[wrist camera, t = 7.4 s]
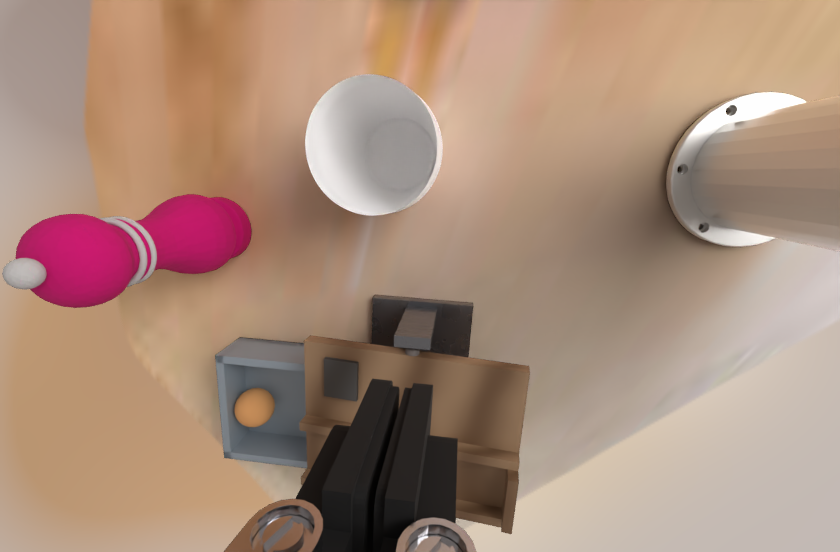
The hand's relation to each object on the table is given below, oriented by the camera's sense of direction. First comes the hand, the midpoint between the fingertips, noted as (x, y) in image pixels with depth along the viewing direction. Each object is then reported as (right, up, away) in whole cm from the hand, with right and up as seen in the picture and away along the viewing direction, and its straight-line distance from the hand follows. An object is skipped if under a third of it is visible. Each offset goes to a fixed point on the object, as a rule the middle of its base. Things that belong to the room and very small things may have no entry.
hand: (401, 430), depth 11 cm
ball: (-17, -10, +32) cm, 38 cm away
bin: (-13, -9, +34) cm, 37 cm away
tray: (-1, -9, +24) cm, 26 cm away
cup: (-1, +15, +27) cm, 31 cm away
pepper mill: (-20, +9, +30) cm, 37 cm away
